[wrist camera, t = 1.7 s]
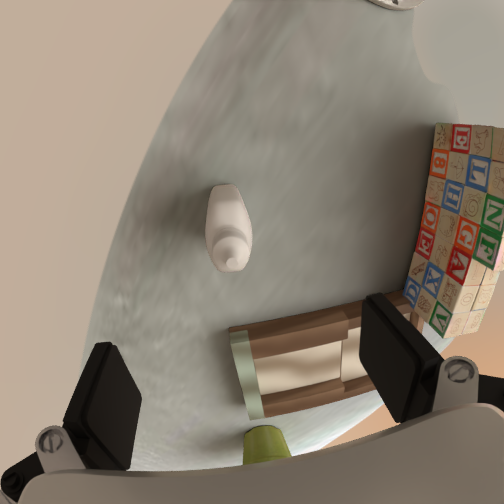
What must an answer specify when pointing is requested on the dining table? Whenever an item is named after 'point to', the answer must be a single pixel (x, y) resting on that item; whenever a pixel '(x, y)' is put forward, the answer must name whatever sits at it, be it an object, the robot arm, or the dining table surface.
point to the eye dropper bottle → (228, 229)
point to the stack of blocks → (460, 230)
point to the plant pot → (264, 445)
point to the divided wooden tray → (305, 358)
